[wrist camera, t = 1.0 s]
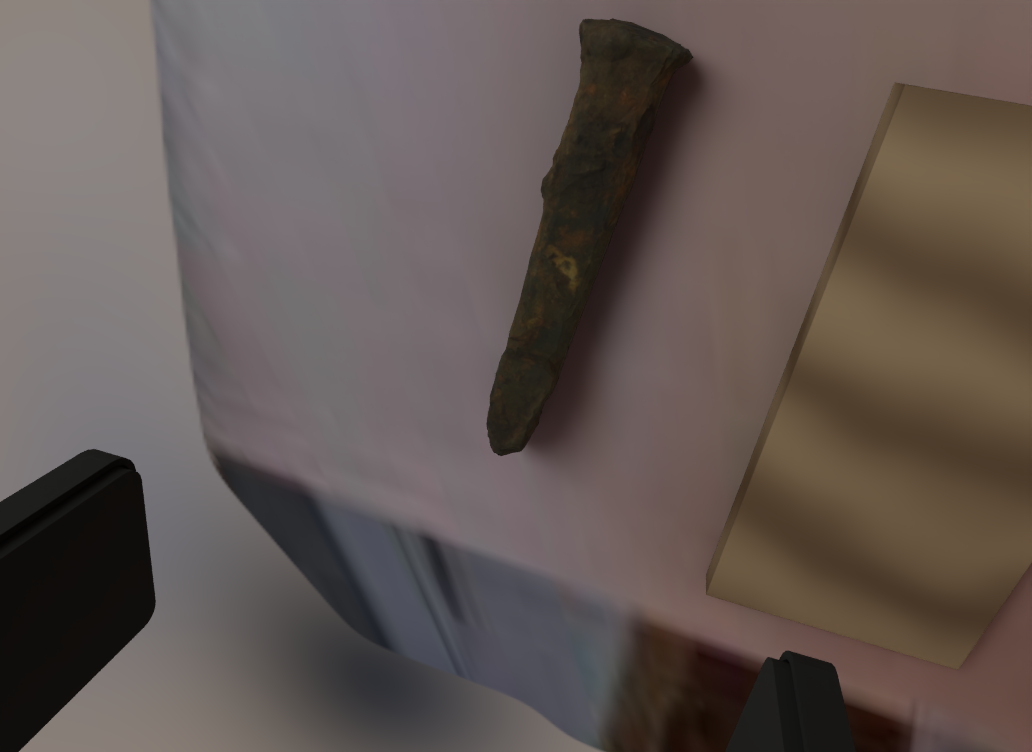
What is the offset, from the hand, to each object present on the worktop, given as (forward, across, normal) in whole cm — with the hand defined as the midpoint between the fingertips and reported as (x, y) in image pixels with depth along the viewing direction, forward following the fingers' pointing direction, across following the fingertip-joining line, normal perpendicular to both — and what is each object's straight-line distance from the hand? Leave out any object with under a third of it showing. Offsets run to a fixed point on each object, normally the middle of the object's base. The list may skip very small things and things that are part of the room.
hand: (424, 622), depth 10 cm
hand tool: (+23, +1, 0) cm, 23 cm away
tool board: (+22, -15, +4) cm, 27 cm away
